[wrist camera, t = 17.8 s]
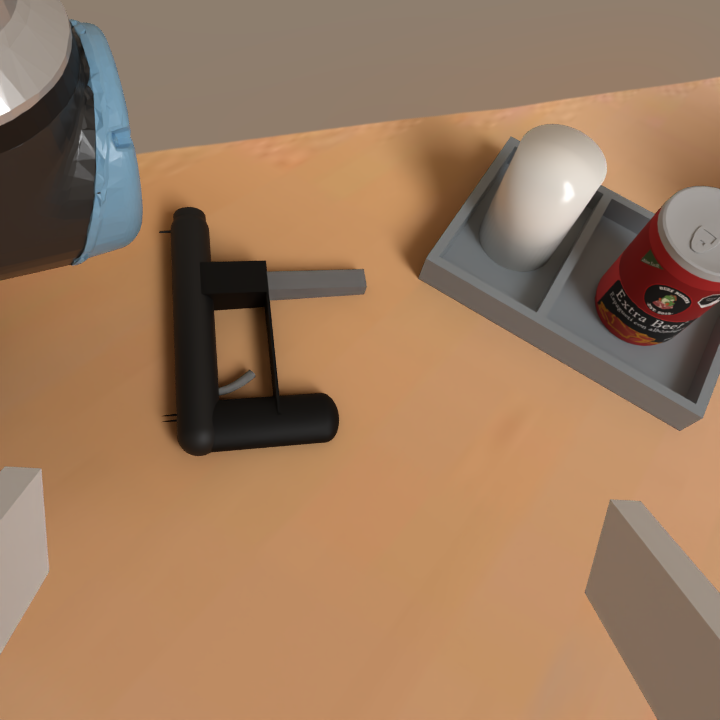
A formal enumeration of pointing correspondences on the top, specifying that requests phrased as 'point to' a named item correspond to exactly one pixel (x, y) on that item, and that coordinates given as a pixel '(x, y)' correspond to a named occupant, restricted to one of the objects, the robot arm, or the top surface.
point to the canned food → (665, 271)
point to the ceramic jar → (541, 196)
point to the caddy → (578, 303)
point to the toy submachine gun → (199, 358)
